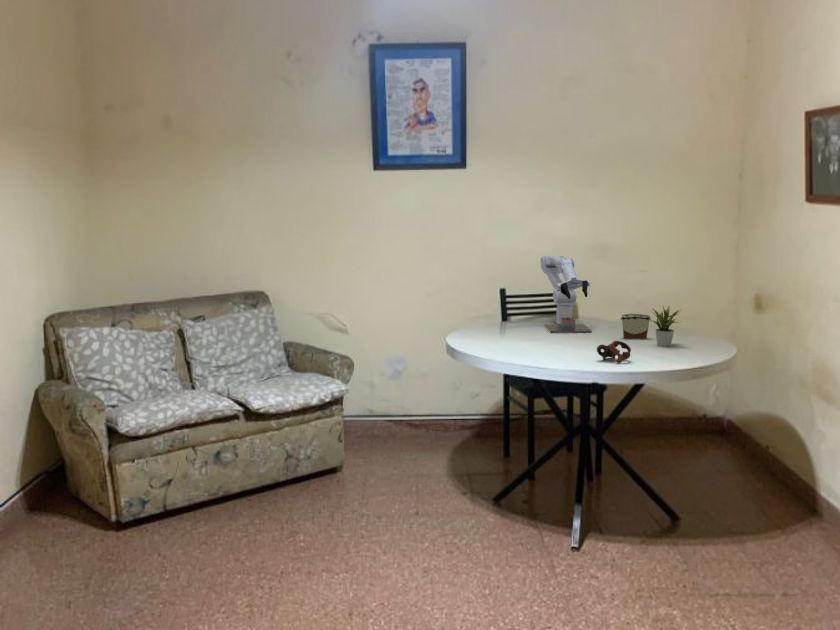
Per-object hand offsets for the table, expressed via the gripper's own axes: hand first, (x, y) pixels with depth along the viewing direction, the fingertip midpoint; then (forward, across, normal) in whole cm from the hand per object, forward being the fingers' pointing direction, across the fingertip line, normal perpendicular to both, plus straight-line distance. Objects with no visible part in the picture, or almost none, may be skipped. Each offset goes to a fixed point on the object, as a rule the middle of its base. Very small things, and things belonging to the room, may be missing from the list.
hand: (578, 296), depth 333 cm
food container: (+27, +17, +3) cm, 32 cm away
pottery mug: (+63, -5, -22) cm, 67 cm away
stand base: (+6, -6, +14) cm, 16 cm away
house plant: (+43, +24, -6) cm, 50 cm away
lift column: (+6, -5, +12) cm, 15 cm away
